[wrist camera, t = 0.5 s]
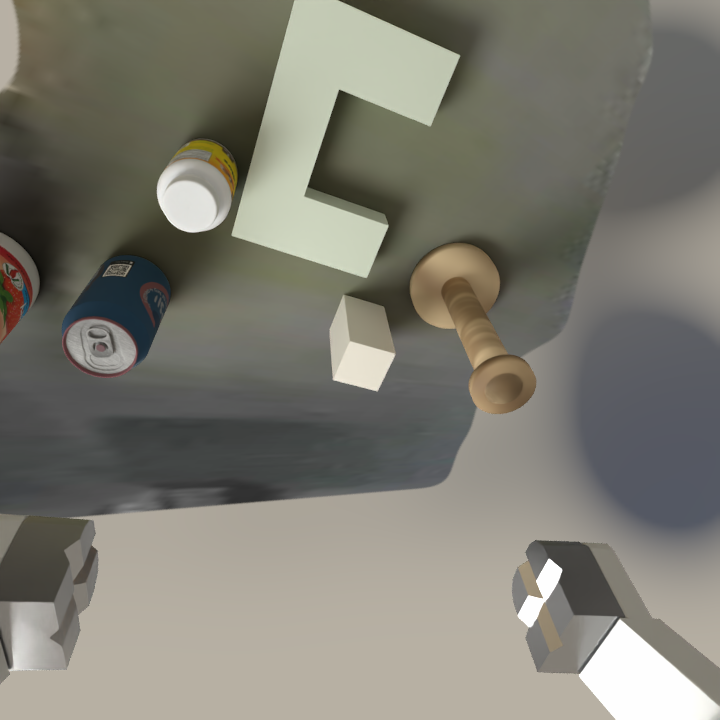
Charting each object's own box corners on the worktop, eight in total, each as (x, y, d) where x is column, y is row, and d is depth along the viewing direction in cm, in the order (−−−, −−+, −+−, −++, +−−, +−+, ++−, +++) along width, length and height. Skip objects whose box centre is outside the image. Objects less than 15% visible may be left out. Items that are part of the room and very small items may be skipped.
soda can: (177, 313, 57) (151, 383, 47) (107, 313, 56) (65, 384, 47) (167, 249, 53) (137, 311, 43) (92, 249, 53) (43, 311, 43)
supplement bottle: (239, 203, 51) (228, 246, 43) (176, 198, 50) (153, 241, 42) (239, 139, 48) (227, 172, 40) (172, 133, 47) (146, 165, 39)
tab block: (343, 294, 57) (349, 341, 50) (384, 306, 59) (395, 354, 51) (329, 330, 60) (333, 379, 52) (368, 341, 61) (377, 391, 54)
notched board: (299, -18, 42) (299, -17, 40) (451, 51, 46) (460, 55, 43) (234, 223, 52) (231, 235, 50) (363, 264, 56) (366, 278, 53)
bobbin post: (432, 230, 54) (480, 324, 40) (511, 258, 57) (584, 357, 42) (395, 308, 59) (427, 418, 44) (471, 330, 61) (524, 443, 46)
